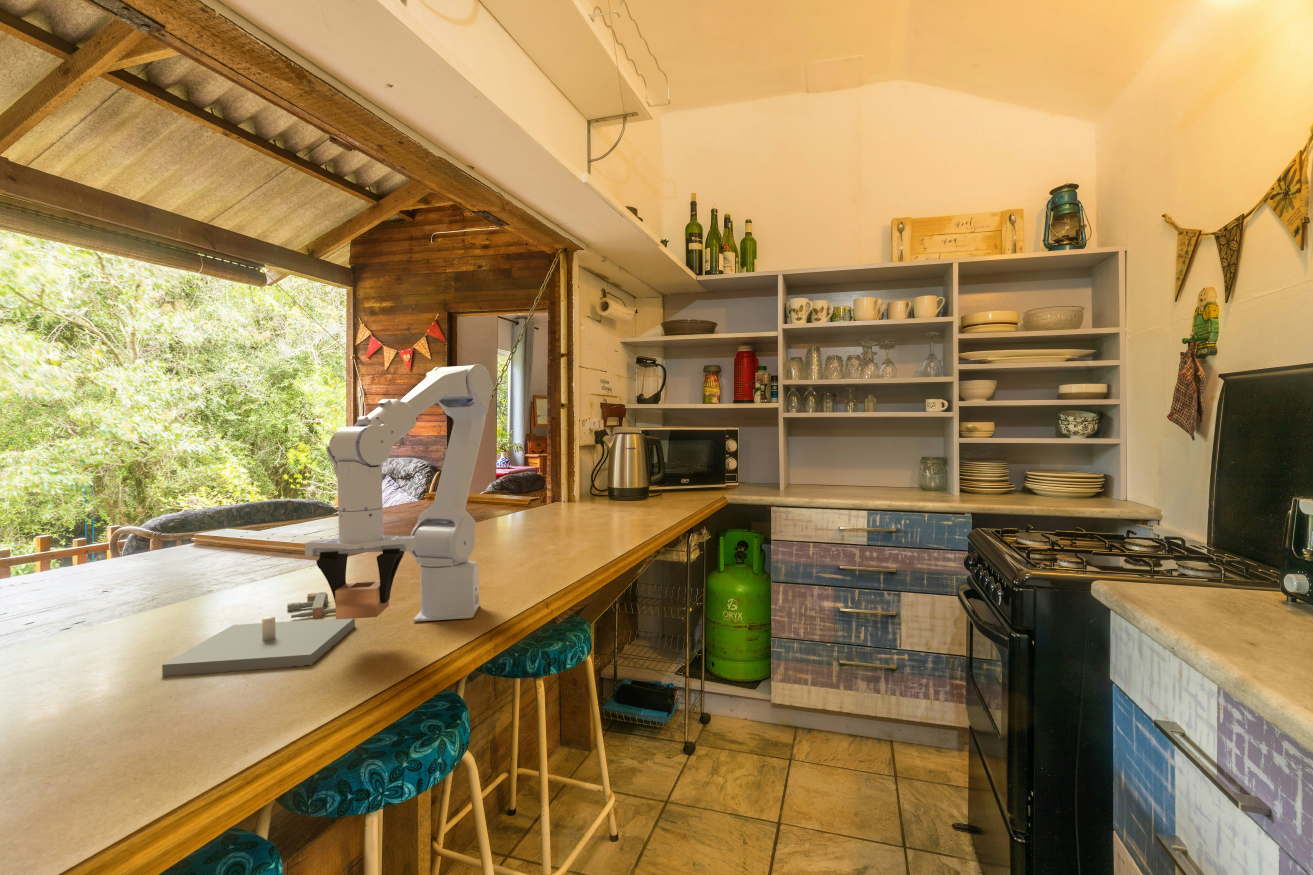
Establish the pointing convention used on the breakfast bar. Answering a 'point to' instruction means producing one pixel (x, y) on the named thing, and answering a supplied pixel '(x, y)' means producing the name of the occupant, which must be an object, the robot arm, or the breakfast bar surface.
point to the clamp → (314, 601)
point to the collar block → (359, 600)
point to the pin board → (261, 646)
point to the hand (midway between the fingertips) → (363, 602)
